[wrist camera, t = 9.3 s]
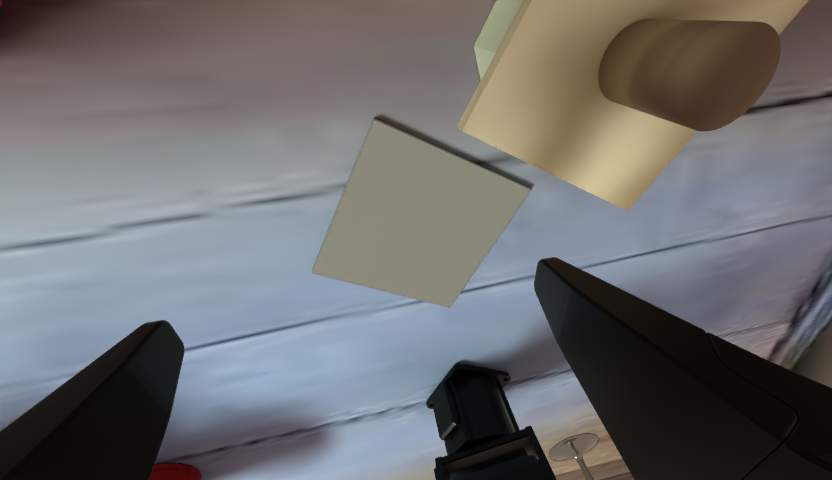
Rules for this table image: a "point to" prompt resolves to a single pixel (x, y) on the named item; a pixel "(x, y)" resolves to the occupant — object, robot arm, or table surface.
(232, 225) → the table surface
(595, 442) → the wine glass
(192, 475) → the plastic cup
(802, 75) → the table surface
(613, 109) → the lid
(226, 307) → the table surface
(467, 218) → the mat
